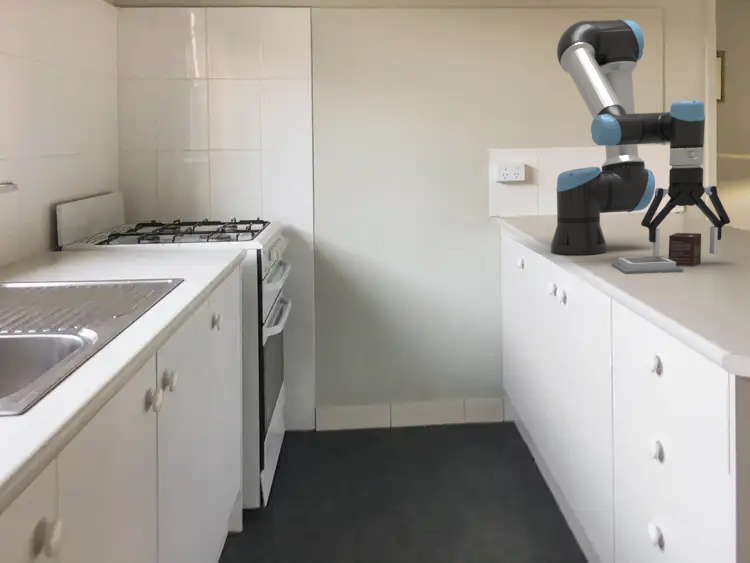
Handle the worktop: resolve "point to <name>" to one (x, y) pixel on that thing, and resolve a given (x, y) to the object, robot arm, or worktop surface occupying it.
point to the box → (685, 248)
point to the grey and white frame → (646, 265)
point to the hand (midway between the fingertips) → (684, 255)
